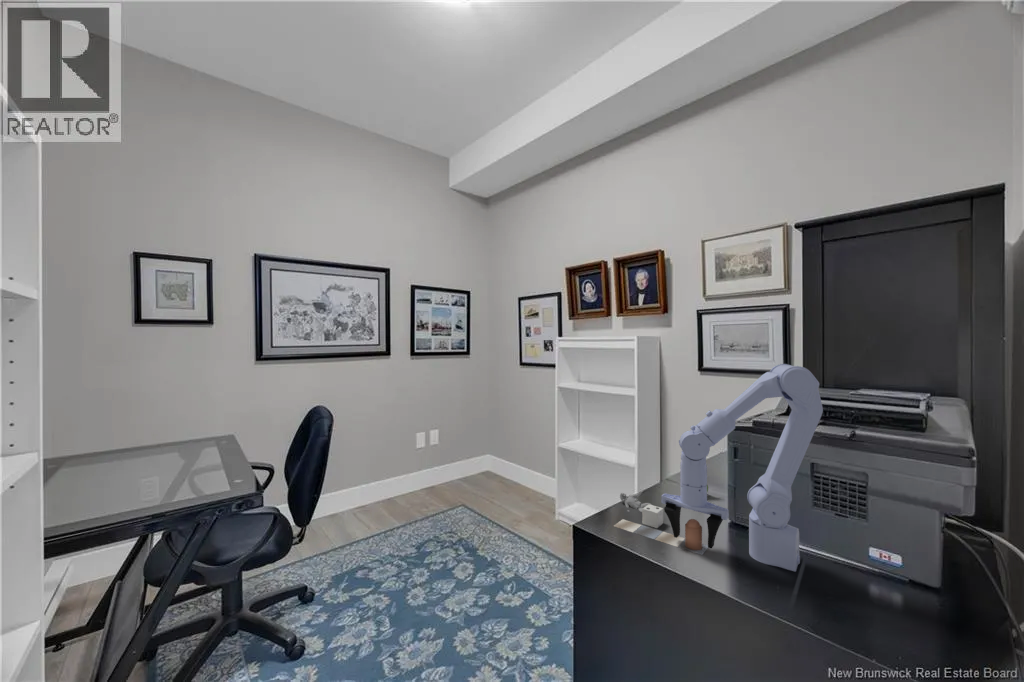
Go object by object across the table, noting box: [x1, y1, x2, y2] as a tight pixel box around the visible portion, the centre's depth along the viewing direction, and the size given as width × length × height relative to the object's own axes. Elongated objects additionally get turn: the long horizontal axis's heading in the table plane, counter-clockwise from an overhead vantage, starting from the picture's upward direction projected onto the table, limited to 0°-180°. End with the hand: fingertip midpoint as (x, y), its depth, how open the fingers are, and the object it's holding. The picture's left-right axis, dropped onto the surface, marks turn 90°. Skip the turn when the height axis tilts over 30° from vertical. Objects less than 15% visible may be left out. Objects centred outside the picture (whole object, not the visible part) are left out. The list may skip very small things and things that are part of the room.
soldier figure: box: [619, 490, 653, 513], centre depth 118 cm, size 8×5×12 cm
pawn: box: [684, 518, 703, 550], centre depth 96 cm, size 4×4×6 cm
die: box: [641, 504, 664, 529], centre depth 108 cm, size 4×4×4 cm
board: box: [613, 518, 708, 556], centre depth 104 cm, size 22×12×1 cm, turn 49°
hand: (693, 541), depth 96 cm, fingers open, 7 cm apart
